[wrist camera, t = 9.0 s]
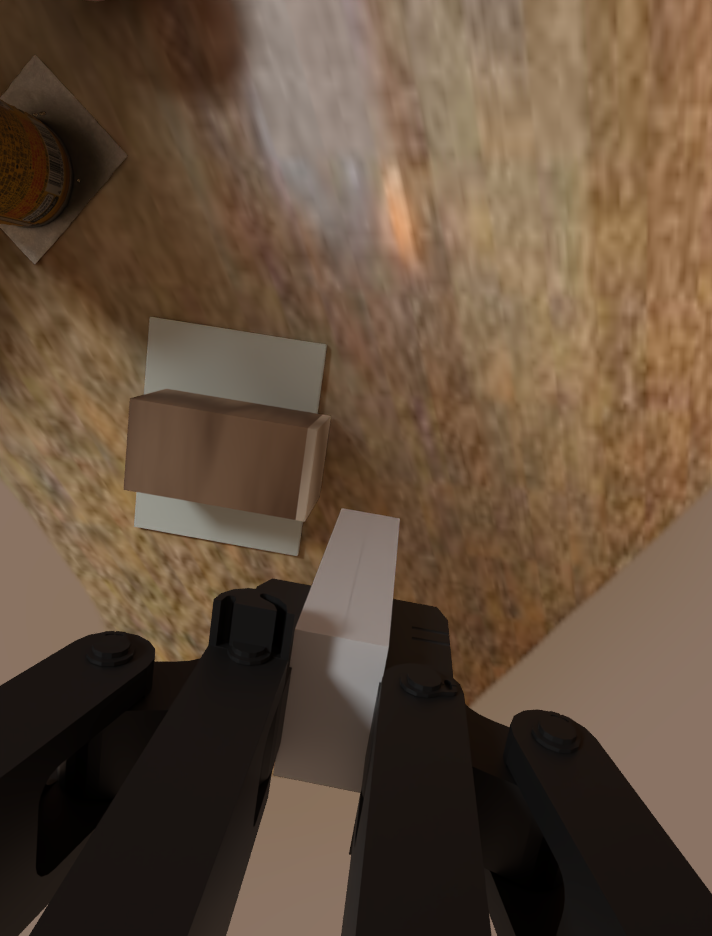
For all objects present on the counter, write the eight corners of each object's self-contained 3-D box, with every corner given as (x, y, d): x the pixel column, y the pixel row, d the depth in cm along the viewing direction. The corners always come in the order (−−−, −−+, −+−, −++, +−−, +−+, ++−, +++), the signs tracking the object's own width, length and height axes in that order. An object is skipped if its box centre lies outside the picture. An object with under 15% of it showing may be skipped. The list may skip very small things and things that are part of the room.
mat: (136, 524, 42) (134, 526, 42) (152, 316, 39) (149, 316, 39) (298, 553, 41) (297, 555, 41) (327, 344, 38) (326, 344, 38)
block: (319, 497, 40) (160, 469, 41) (331, 415, 39) (166, 388, 39) (304, 521, 35) (123, 489, 36) (317, 429, 34) (130, 398, 35)
